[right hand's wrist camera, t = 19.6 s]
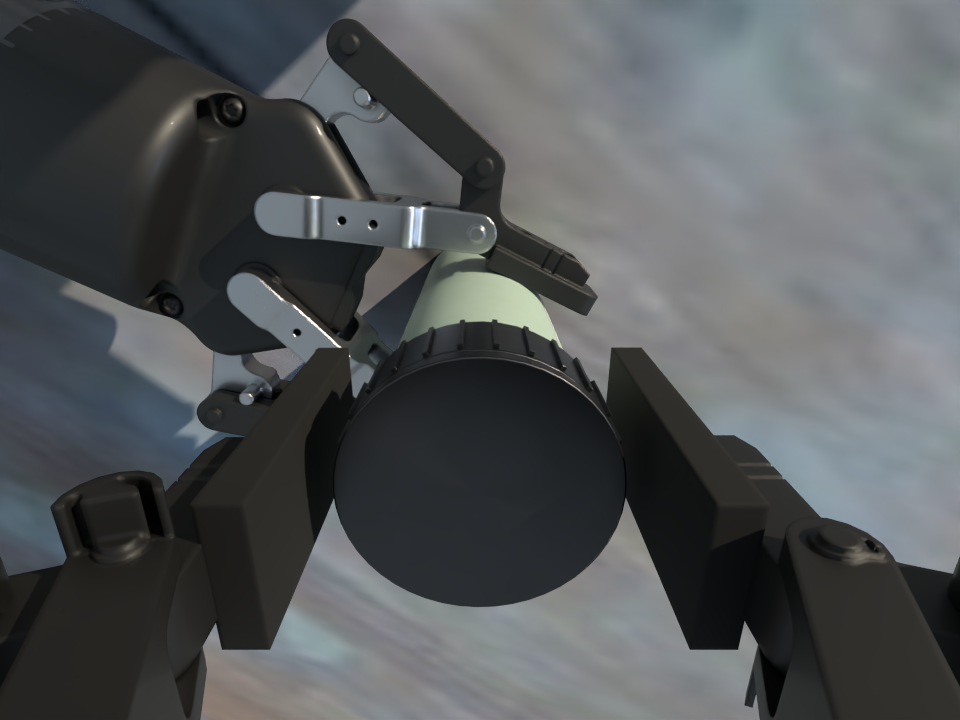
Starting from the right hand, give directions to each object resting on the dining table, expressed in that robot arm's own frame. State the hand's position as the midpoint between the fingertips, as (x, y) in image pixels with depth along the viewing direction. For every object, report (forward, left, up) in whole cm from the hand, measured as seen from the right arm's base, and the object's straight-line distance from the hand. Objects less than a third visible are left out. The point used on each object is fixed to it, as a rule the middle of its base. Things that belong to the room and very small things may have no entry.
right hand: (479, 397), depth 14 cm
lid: (0, 0, +4) cm, 4 cm away
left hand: (-1, -2, -5) cm, 6 cm away
